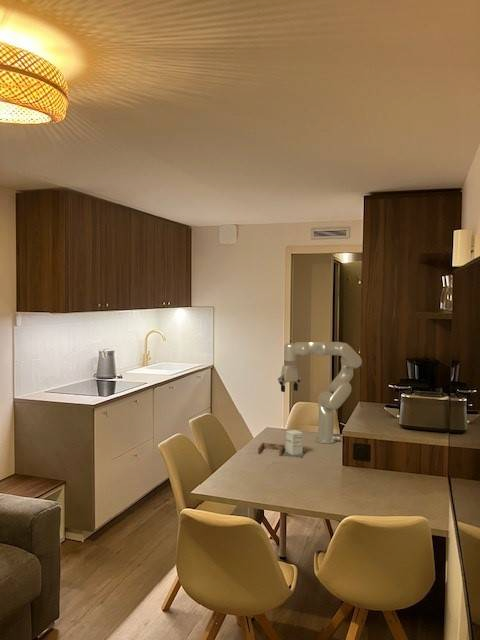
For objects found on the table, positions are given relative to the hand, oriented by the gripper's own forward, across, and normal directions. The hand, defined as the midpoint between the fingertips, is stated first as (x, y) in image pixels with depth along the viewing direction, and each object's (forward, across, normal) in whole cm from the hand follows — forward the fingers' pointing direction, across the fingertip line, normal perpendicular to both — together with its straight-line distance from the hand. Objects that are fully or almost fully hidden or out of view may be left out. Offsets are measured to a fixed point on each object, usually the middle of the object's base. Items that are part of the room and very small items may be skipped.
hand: (289, 391), depth 328 cm
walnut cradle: (+33, +18, +8) cm, 39 cm away
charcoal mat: (+33, +9, +18) cm, 39 cm away
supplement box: (+33, +9, +18) cm, 39 cm away
